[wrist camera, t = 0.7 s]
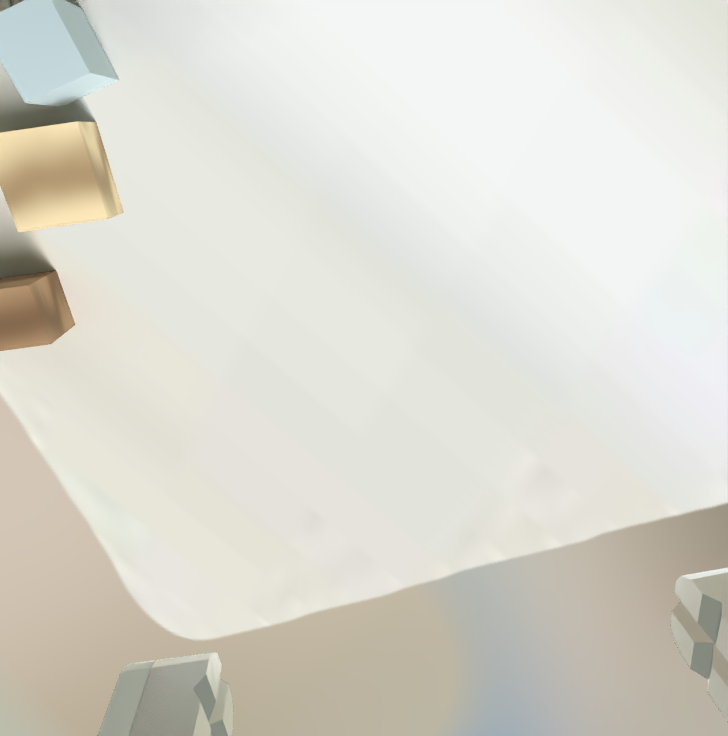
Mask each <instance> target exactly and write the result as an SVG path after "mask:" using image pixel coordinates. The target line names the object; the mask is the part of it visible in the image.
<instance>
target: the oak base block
mask: <svg viewBox="0 0 728 736" xmlns="http://www.w3.org/2000/svg"><path fill="white" fill-rule="evenodd" d="M0 186H1V189H2V191H3V194H4V196H5V199H6V201H7V204H8V207H9V209H10V212H11V214H12V217H13V219H14V222H15V225H16V227H17V230H18V232H24V231H31V230H38V229H44V228H51V227H58V226H64V225H71V224H78V223H84V222H91V221H98V220H104V219H109V218H112V217H114V216H116V215H119V214H121V213H123V208H122V205H121V202H120V198H119V195H118V192H117V189H116V185H115V182H114V179H113V176H112V172H111V169H110V166H109V162H108V159H107V156H106V153H105V149H104V146H103V143H102V140H101V136H100V133H99V130H98V126H97V123H96V122H81V121H76V122H70V123H63V124H56V125H49V126H42V127H35V128H29V129H22V130H15V131H8V132H1V133H0Z"/></svg>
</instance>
